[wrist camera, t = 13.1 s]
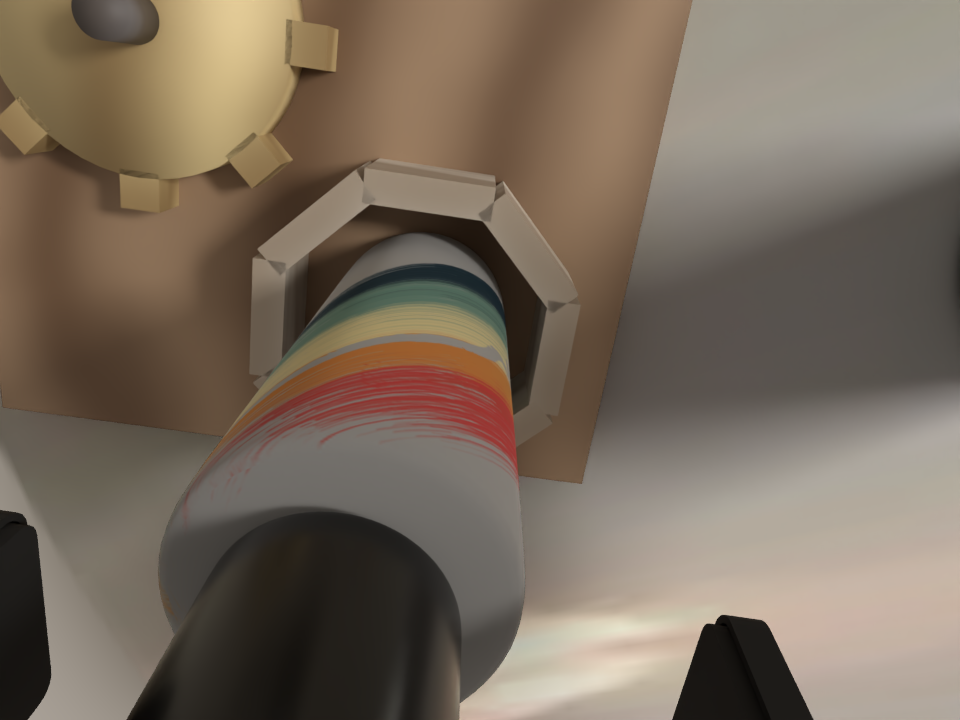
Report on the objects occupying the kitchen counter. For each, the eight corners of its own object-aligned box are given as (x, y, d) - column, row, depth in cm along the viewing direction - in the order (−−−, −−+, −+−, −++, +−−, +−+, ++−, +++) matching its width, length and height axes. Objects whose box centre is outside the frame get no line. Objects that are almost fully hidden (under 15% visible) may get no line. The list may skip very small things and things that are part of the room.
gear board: (704, -105, 21) (764, -159, 17) (576, 464, 29) (594, 537, 24) (-33, -232, 20) (-185, -325, 16) (27, 391, 28) (-67, 452, 23)
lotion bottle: (503, 383, 26) (550, 1163, 7) (348, 383, 26) (-12, 1158, 7) (504, 227, 24) (572, 749, 5) (335, 228, 24) (-217, 748, 5)
